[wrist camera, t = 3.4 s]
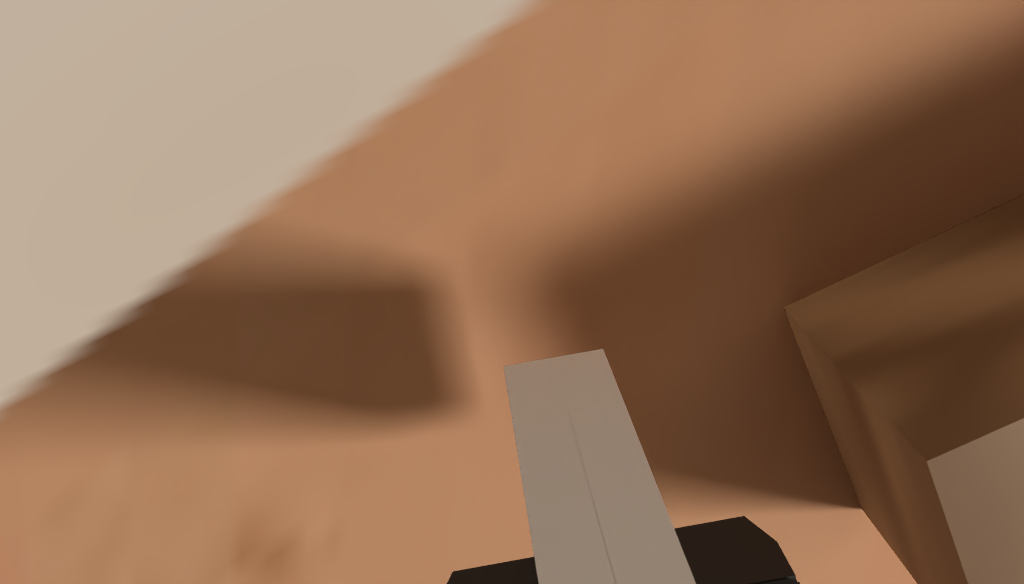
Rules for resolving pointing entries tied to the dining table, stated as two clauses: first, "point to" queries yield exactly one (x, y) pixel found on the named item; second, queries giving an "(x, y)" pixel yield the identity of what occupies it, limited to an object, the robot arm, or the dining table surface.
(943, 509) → the wooden slab
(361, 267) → the dining table surface
